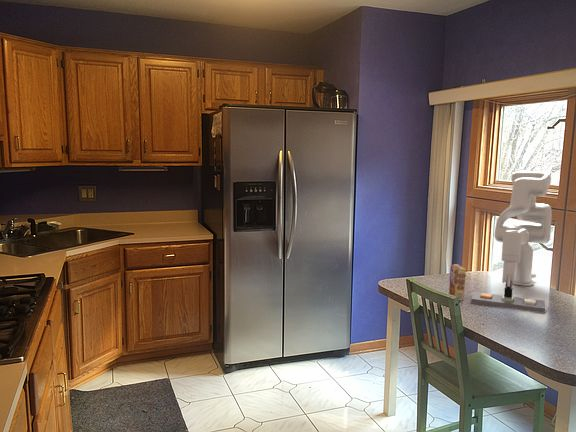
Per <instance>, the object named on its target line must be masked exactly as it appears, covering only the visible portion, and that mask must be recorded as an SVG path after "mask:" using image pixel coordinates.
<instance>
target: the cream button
mask: <svg viewBox="0 0 576 432" xmlns="http://www.w3.org/2000/svg"><path fill="white" fill-rule="evenodd" d="M523 298H524V304H532V305H535V304H536V301H535V300H536V299H535V300H533V298H527V299H525V297H523Z"/></svg>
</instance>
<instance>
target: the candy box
mask: <svg viewBox="0 0 576 432" xmlns="http://www.w3.org/2000/svg"><path fill="white" fill-rule="evenodd" d="M449 270H450V271H449V285H448V295H449V294H451V295H454V296H456V297H458V298H459V300H460V301H464V300H465V299H464V297H465V289H466V288H465V285H466V274H467V268H465V267H463V266H461V265H460V264H455V263H454V264H450V269H449Z"/></svg>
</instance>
